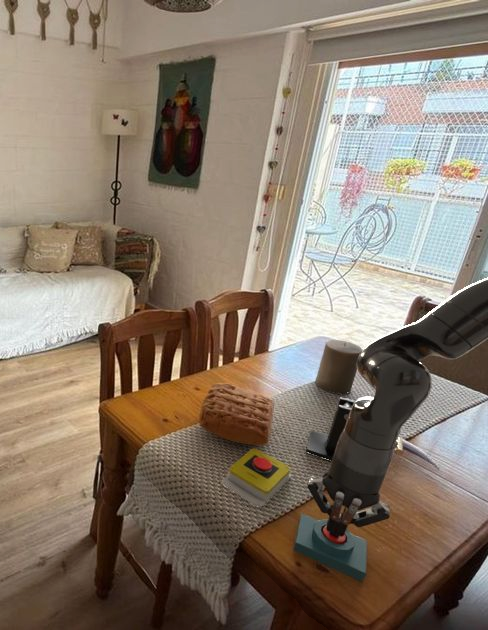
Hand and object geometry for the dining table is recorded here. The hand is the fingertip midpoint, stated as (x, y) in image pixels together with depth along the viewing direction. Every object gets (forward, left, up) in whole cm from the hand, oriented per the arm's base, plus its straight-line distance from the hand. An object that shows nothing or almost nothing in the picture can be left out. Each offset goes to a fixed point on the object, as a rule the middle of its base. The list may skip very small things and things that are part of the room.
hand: (333, 533), depth 80 cm
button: (0, 0, -2) cm, 2 cm away
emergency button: (+15, -11, -4) cm, 19 cm away
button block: (0, 0, -4) cm, 4 cm away
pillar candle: (+4, -67, -4) cm, 67 cm away
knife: (-9, -44, -4) cm, 45 cm away
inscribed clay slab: (+24, -28, -4) cm, 37 cm away
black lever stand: (+1, -32, -4) cm, 32 cm away
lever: (-4, -32, +4) cm, 33 cm away
